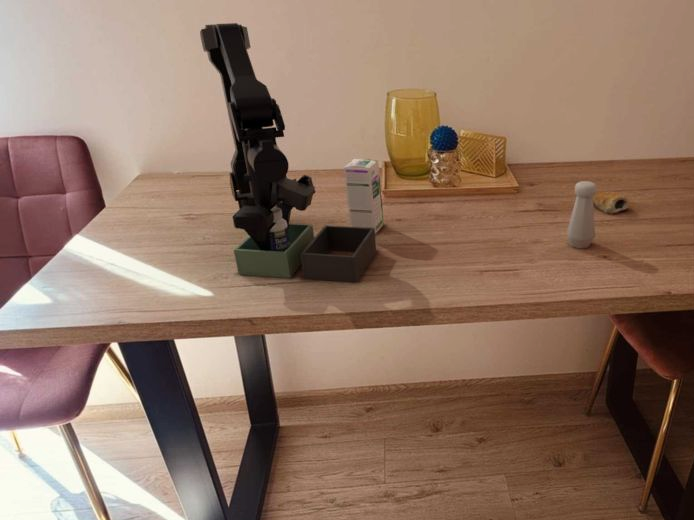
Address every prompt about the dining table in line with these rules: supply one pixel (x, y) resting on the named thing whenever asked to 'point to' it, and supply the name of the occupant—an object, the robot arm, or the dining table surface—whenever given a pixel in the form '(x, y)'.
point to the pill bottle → (279, 232)
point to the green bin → (274, 254)
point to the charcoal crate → (338, 266)
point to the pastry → (610, 202)
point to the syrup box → (364, 193)
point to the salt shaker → (582, 216)
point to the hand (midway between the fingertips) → (276, 246)
